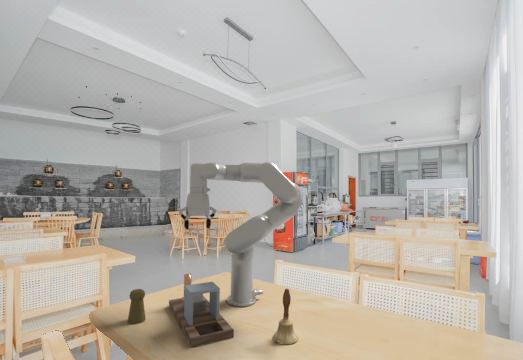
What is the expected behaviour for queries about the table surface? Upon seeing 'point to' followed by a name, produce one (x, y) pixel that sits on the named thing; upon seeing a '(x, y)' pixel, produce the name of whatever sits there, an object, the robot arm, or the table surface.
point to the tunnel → (201, 289)
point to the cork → (136, 307)
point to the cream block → (197, 298)
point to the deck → (201, 325)
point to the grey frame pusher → (196, 305)
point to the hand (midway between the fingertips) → (197, 228)
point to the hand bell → (285, 324)
